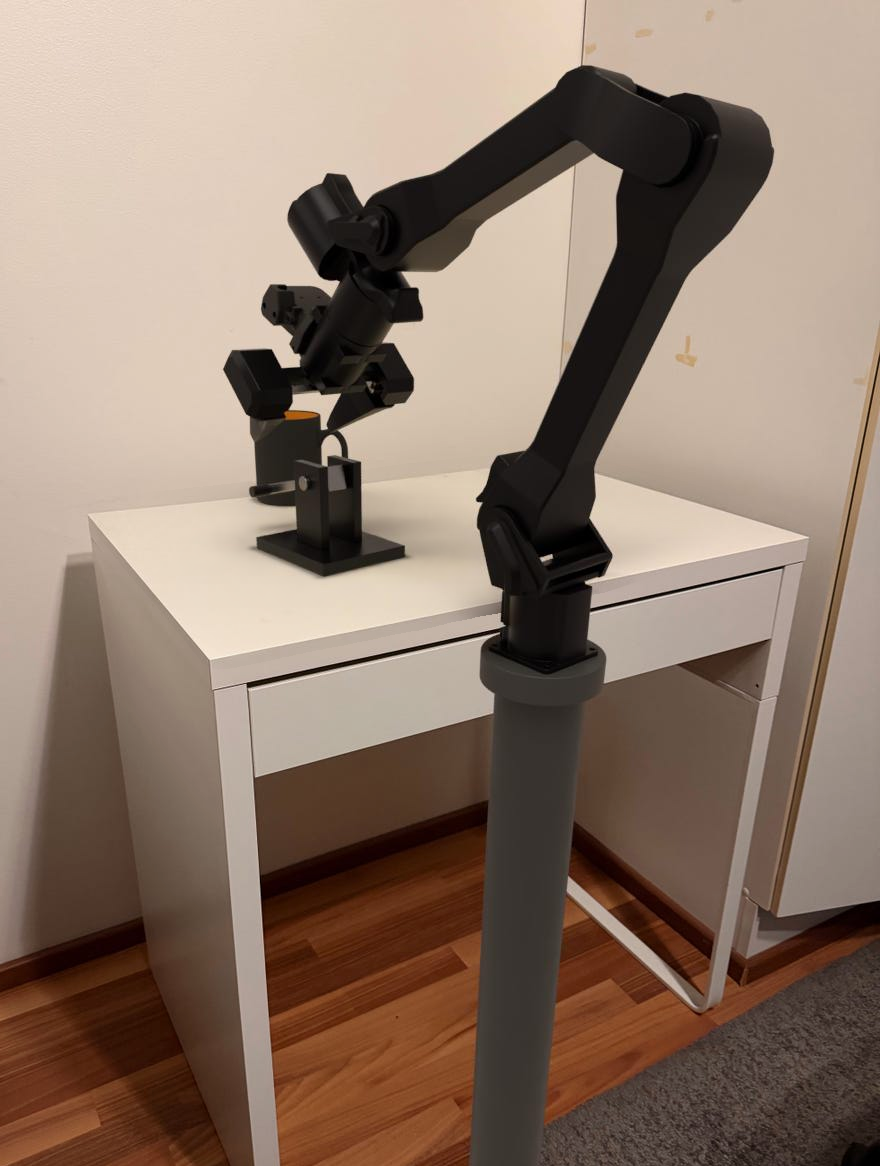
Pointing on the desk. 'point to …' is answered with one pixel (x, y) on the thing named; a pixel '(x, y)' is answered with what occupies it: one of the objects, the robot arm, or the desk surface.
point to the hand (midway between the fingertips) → (292, 433)
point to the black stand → (329, 524)
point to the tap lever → (334, 484)
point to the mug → (290, 451)
